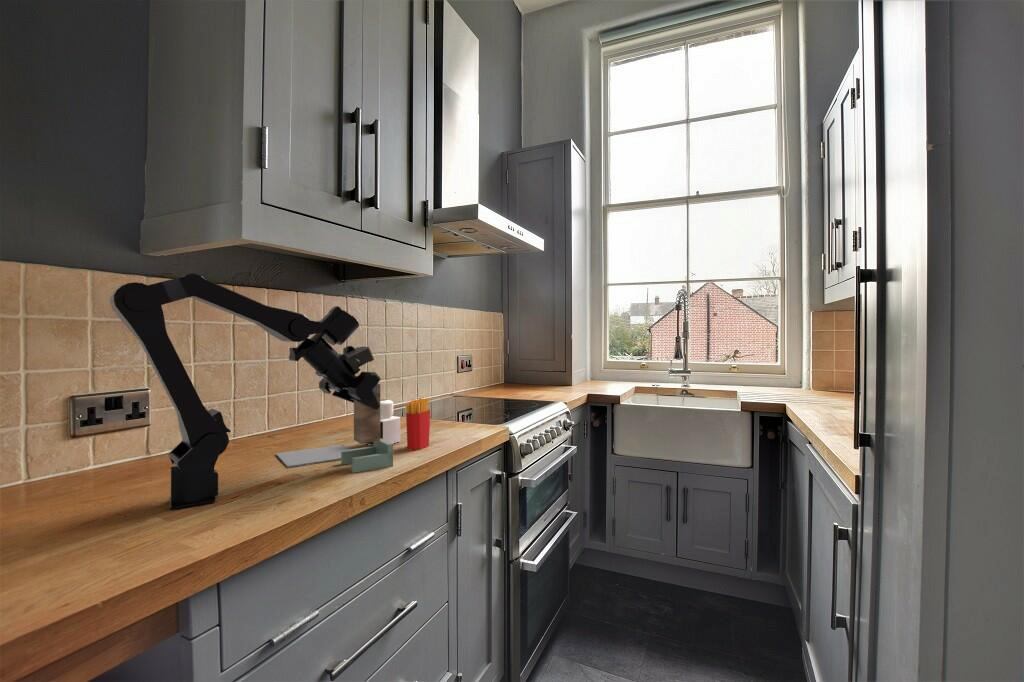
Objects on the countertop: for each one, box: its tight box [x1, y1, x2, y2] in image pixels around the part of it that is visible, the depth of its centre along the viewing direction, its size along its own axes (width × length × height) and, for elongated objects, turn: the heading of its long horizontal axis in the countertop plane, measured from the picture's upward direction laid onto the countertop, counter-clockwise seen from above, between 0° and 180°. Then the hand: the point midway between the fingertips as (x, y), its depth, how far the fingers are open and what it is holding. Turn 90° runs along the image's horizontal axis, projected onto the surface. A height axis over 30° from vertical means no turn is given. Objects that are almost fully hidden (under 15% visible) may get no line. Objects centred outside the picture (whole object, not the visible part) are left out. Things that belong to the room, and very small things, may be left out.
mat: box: [275, 444, 351, 469], centre depth 113 cm, size 16×14×1 cm
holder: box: [340, 438, 394, 474], centre depth 105 cm, size 9×9×5 cm
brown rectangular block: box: [353, 383, 381, 445], centre depth 105 cm, size 4×4×13 cm
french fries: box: [405, 397, 431, 451], centre depth 123 cm, size 9×4×13 cm, turn 160°
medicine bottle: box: [363, 399, 401, 446], centre depth 127 cm, size 7×7×12 cm
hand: (372, 406), depth 106 cm, fingers closed on brown rectangular block, 5 cm apart
